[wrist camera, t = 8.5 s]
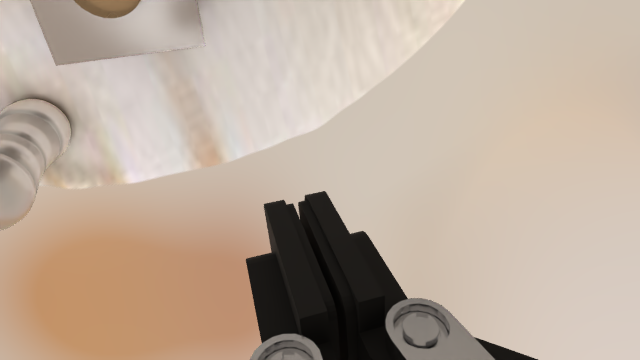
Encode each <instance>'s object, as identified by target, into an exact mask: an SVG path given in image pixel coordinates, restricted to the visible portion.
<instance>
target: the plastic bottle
mask: <svg viewBox="0 0 640 360" xmlns="http://www.w3.org/2000/svg"><path fill="white" fill-rule="evenodd" d="M70 137H71V128H70V123H69V121H68V119H67V117H66V116H65V115H64V113H63V112H62V111H61V110H60V109H59V108H57V107H56V106H54V105H53V104H51V103H48V102H46V101H43V100H38V99H25V100H20V101H18V102H15V103H13V104H10V105H8V106H7V107H5V108H4V109H3V110H2V111H1V112H0V230H4V229H7V228H9V227H11V226H13V225H14V224H16V223H17V222H19V221H20V220H21V219H23V218H24V217H25V216H26V215H27V214H28V213H29V211H30V209H31V207H32V205H33V203H34V200H35V197H36V193H37V189H38V186H39V182H40V180H41V178H42V176H43V174H44V172H45V170H46V169H47V168H48V167H49V166H50V164H51V163H53V162H54V161H55V160H57V159H58V158H59V157H60V156H61V155H62V154H63V153H64V152H65V151H66V150H67V148H68V146H69V142H70Z"/></svg>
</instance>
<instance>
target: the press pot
mask: <svg viewBox="0 0 640 360" xmlns="http://www.w3.org/2000/svg"><path fill="white" fill-rule="evenodd" d="M30 1H31V4H32V6H33V9H34V12H35V14H36V17H37V19H38V22H39V24H40V27H41V29H42V32H43V34H44V37H45V39H46V42H47V44H48V47H49V49H50V52H51V54H52V57H53V59H54V62H55V64H56V65H64V64H72V63H79V62H87V61H95V60H102V59H110V58H118V57H125V56H133V55H141V54H148V53H156V52H164V51H171V50H179V49H187V48H194V47H202V46H206V44H205V39H204V34H203V29H202V24H201V19H200V14H199V9H198V5H197V0H141V2H140V3H139V4H138V6H137V7H136V8H135V9H134V10H133V11H132V12H130V13H129V14H127V15H125V16H122V17H119V18H103V17H99V16H96V15H93V14H91V13H89V12H87V11H85V10H84V9H83V8H81V7H80V6H79V5H78V4H77V3H75V1H74V0H30Z"/></svg>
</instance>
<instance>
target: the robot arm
mask: <svg viewBox="0 0 640 360" xmlns="http://www.w3.org/2000/svg"><path fill="white" fill-rule="evenodd" d="M298 206H299V214H300V219H299V216H298V214H297V212H296V209H295V208H294V205H293V204H288V205H286V203H285V201H284V200H281V201H276V202H271V203H267V204H264V210H265V216H266V222H267V228H268V233H269V239H270V245H271V251H272V253H269V254H264V255H260V256H256V257H251V258H248V259H246V263H247V268H248V273H249V279H250V284H251V289H252V294H253V299H254V305H255V310H256V315H257V320H258V326H259V331H260V336H261V341H262V344H261V345H260V346H259V347H258V348H257V349H256V350H255V351H254V353H253V355H252V357H251V358H250V360H538V359H534V358H532V357H529V356H526V355H523V354H520V353H518V352H515V351H512V350H509V349H506V348H504V347H501V346H498V345H495V344H492V343H489V342H487V341H484V340H481V339H478V338H475V337H473V336H472V335H471V334H470V333H469V332H468V331H467V330H466V329H465V328H464V326H463V325H461V323H460V322H459V321H458V320H457V319H456V318H455V317H454V316H453V315H452V314H451V313H450V312H449V311H448V310H447V309H445V308H444V307H443V306H442V305H440V304H438V303H436V302H433V301H431V300H427V299H422V298H411V299H408V298H407V297H406V295H405V294H404V292H403V290H402V289H401V287H400V286H399V284H398V283H397V281H396V279H395V278H394V276H393V275H392V273H391V271H390V270H389V268H388V267H387V265H386V264H385V262H384V260H383V259H382V257H381V256H380V254H379V252H378V251H377V249H376V248H375V246H374V245H373V243H372V241H371V240H370V238H369V237H368V235H367V234H366V233H365V232H364V231H361V232H356V233H352V234H350V233H349V232H348V230H347V228H346V226H345V225H344V223H343V221H342V219H341V218H340V216H339V214H338V212H337V211H336V209H335V207H334V206H333V204H332V202H331V200H330V198H329V197H328V195H327V193H326V192H325V191H323V192H318V193H313V194H309V195H305V201H301V202H299V203H298Z"/></svg>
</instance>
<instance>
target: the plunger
mask: <svg viewBox="0 0 640 360" xmlns="http://www.w3.org/2000/svg"><path fill="white" fill-rule="evenodd" d="M74 1H75V3H77V4H78V5H79V6H80V7H81V8H83V9H84V10H85V11H87V12H89V13H91V14H93V15H96V16H99V17H103V18H119V17H122V16H125V15H127V14H129V13H130V12H132V11H133V10H134V9H135V8H136V7H137V6H138V4H139V3H140V2H141V0H74Z"/></svg>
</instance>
